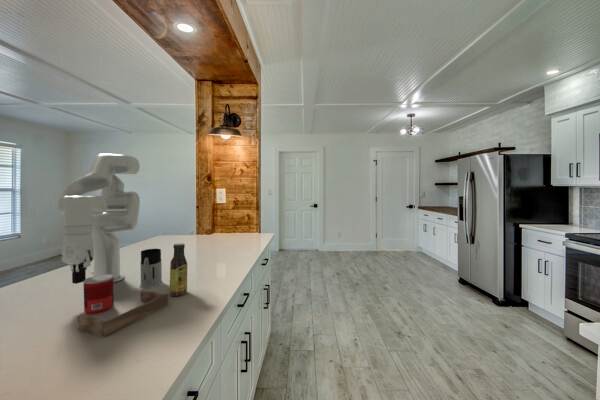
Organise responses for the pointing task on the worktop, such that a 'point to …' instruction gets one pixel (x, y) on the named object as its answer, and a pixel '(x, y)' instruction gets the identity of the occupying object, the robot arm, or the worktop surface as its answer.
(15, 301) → the worktop surface
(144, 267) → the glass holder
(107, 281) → the canned food
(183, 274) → the sauce bottle
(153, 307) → the wooden corner frame
